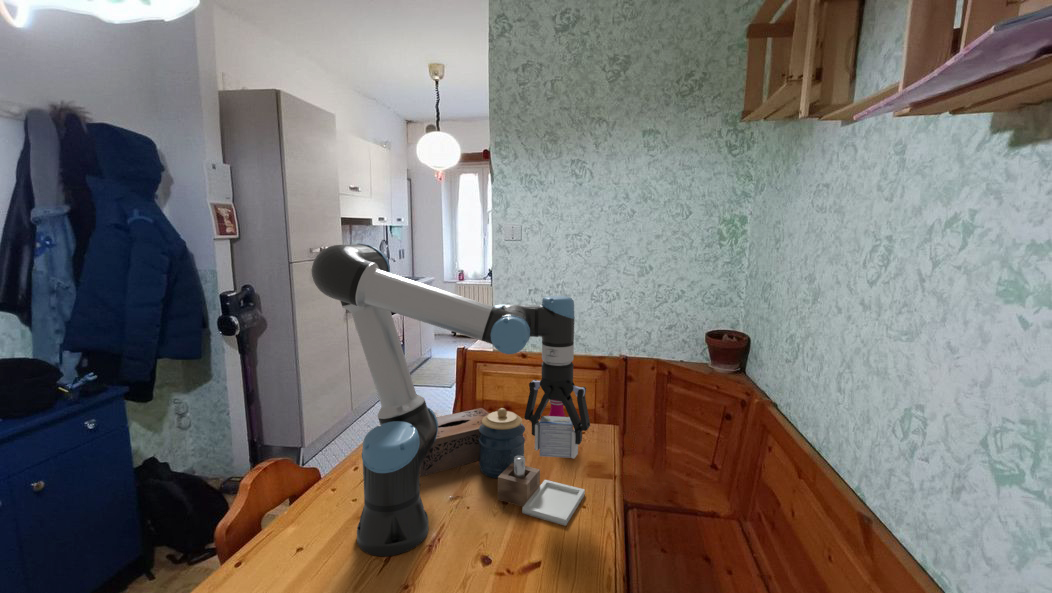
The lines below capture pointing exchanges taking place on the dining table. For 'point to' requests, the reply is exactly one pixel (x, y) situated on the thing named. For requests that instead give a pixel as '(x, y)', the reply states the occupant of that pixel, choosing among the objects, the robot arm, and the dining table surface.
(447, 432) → the tissue box cover
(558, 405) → the pepper mill
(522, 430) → the canister
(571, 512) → the tray
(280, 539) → the dining table surface
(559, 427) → the medicine box
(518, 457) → the pin
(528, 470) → the square hollow frame
